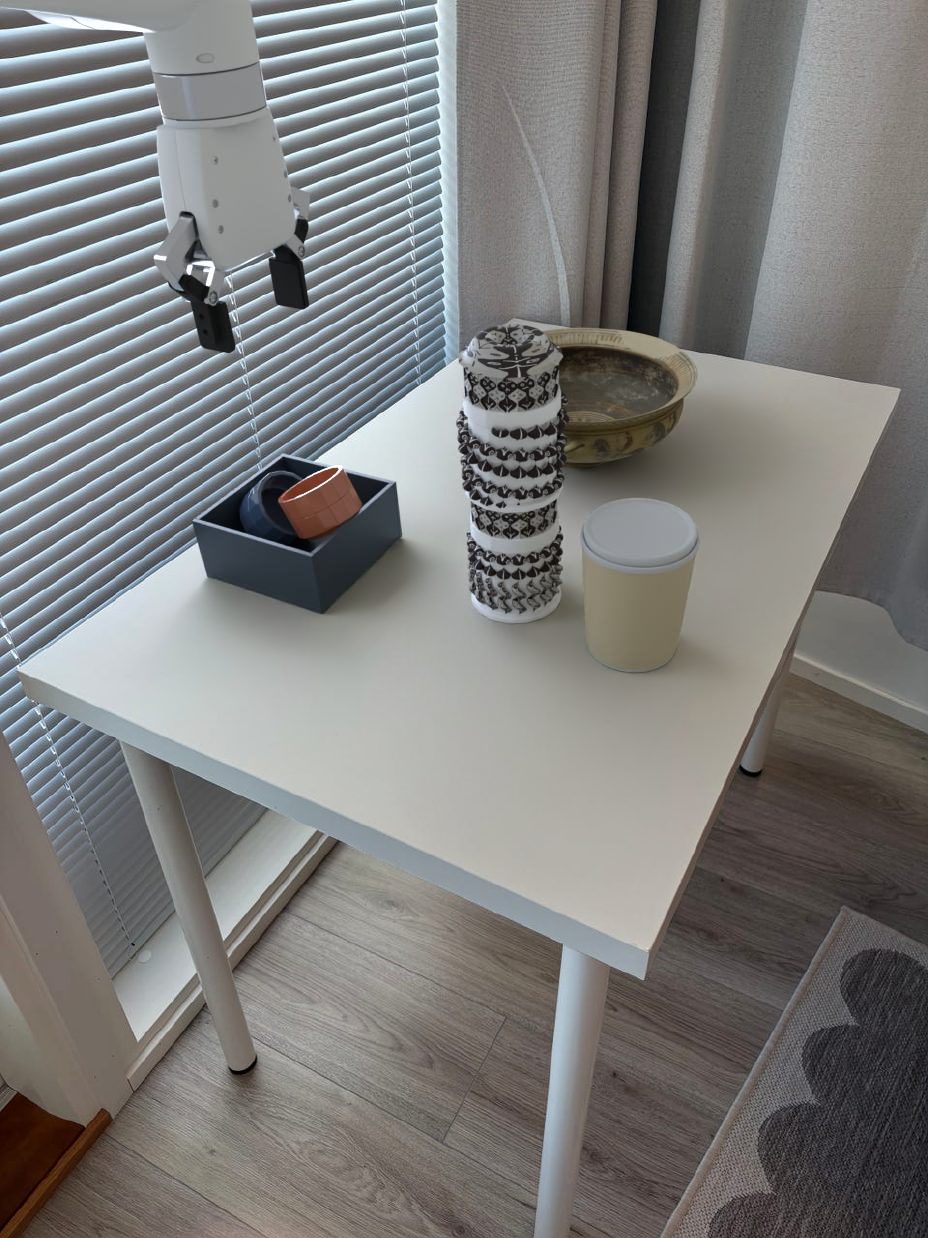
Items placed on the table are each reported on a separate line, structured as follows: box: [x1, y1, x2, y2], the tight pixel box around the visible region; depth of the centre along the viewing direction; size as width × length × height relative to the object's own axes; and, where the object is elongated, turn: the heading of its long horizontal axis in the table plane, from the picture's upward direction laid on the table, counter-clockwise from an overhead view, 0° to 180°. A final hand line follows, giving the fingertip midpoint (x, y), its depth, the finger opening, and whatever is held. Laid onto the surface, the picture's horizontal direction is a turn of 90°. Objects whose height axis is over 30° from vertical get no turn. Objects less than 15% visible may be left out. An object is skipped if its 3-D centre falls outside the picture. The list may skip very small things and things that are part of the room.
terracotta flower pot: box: [278, 464, 363, 541], centre depth 90 cm, size 7×7×4 cm
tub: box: [191, 453, 403, 615], centre depth 93 cm, size 14×14×6 cm
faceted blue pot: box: [239, 471, 303, 547], centre depth 94 cm, size 7×7×4 cm
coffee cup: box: [579, 497, 701, 673], centre depth 78 cm, size 9×9×12 cm
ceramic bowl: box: [541, 327, 698, 468], centre depth 106 cm, size 30×24×10 cm
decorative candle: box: [455, 323, 570, 624], centre depth 80 cm, size 9×9×25 cm
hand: (257, 327), depth 79 cm, fingers open, 9 cm apart
